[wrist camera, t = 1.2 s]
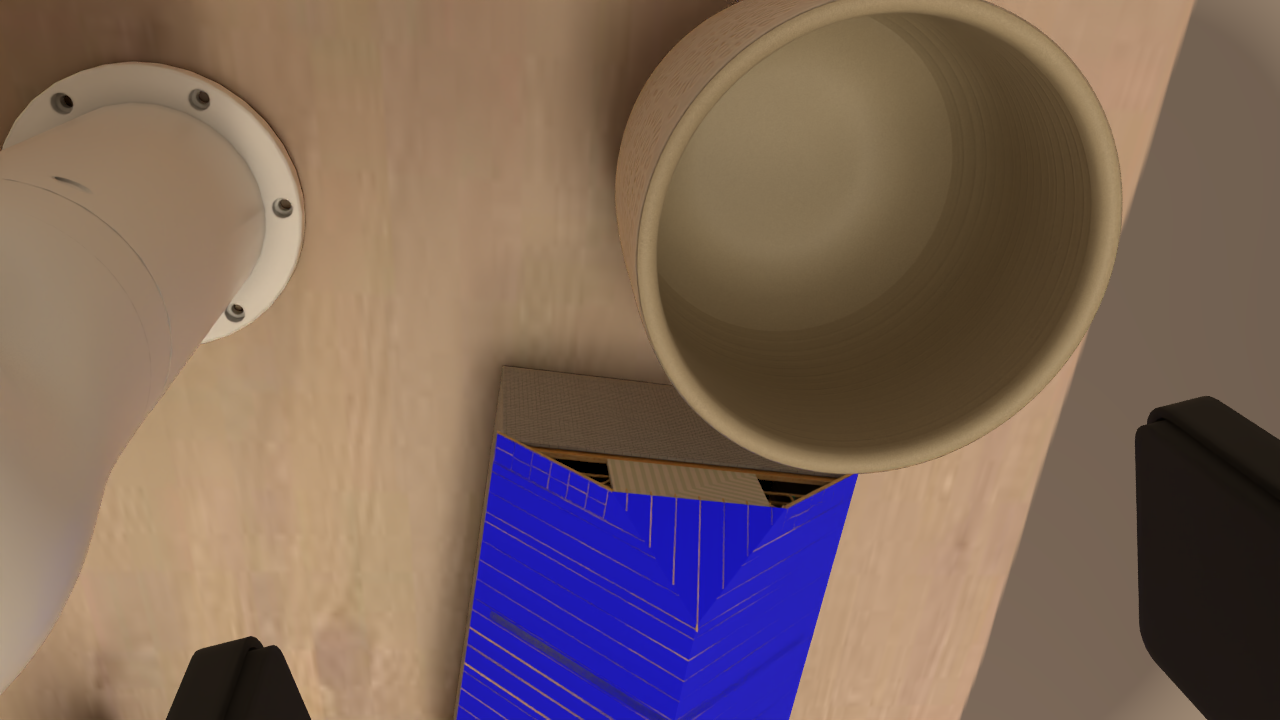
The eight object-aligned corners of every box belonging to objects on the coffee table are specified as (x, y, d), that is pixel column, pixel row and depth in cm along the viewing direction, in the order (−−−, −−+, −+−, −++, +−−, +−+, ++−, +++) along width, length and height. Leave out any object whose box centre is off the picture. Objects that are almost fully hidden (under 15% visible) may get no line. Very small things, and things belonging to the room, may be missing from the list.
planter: (927, 327, 54) (1077, 466, 40) (595, 335, 52) (631, 486, 38) (973, -28, 47) (1171, -10, 33) (596, -34, 45) (640, -17, 31)
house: (497, 359, 52) (496, 527, 37) (809, 396, 54) (921, 565, 40) (441, 760, 60) (423, 1021, 46) (713, 774, 63) (776, 1023, 49)
